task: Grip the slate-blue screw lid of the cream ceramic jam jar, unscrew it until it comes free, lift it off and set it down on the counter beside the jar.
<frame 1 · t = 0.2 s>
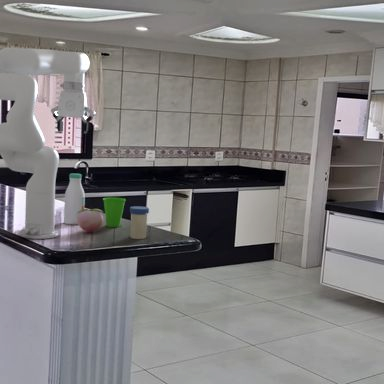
hand: (72, 132, 219), 37 cm above the countertop, tool pointing down, fingers open, 9 cm apart
jar lid: (139, 208, 207), point 11 cm above the countertop, screwed on, not yet turned
milk bottle: (73, 223, 228), on the countertop
decorative fruit: (89, 233, 211), on the countertop
cup: (113, 226, 228), on the countertop
jar: (138, 237, 209), on the countertop
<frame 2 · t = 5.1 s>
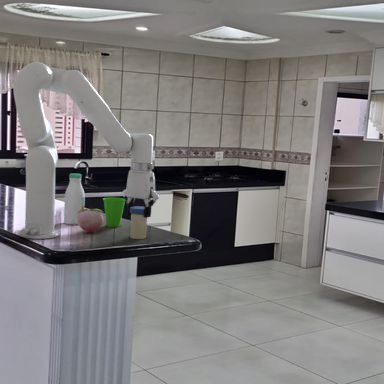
hand: (139, 215, 208), 8 cm above the countertop, tool pointing down, fingers closed on jar lid, 6 cm apart
jar lid: (139, 208, 207), point 11 cm above the countertop, screwed on, not yet turned, touching gripper
everything else where it was.
when the fingers open (7 cm above the countertop, at t = 7.8 s): jar lid stays where it is, point 11 cm above the countertop.
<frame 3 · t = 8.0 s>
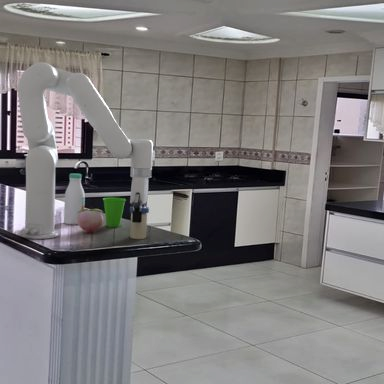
hand: (138, 220, 208), 6 cm above the countertop, tool pointing down, fingers open, 8 cm apart
jar lid: (139, 208, 207), point 11 cm above the countertop, turned 117° so far, risen 0.2 cm, still on its thread
everything else where it was.
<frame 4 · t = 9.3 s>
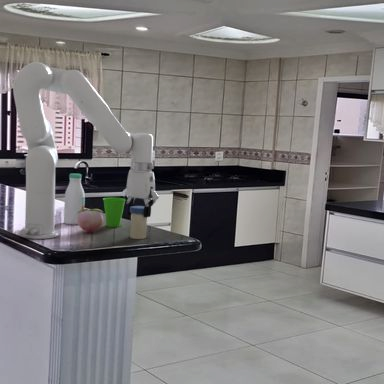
hand: (139, 215, 208), 8 cm above the countertop, tool pointing down, fingers closed on jar lid, 6 cm apart
jar lid: (139, 208, 207), point 11 cm above the countertop, turned 117° so far, risen 0.2 cm, still on its thread, touching gripper
everything else where it was.
when the fingers open (7 cm above the countertop, at t = 11.7 s): jar lid stays where it is, point 11 cm above the countertop.
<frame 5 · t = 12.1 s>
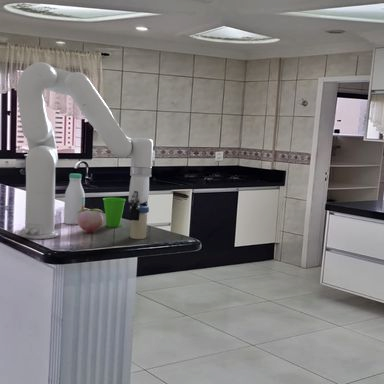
hand: (138, 218, 208), 7 cm above the countertop, tool pointing down, fingers open, 9 cm apart
jar lid: (139, 207, 207), point 11 cm above the countertop, turned 236° so far, risen 0.4 cm, still on its thread
everything else where it was.
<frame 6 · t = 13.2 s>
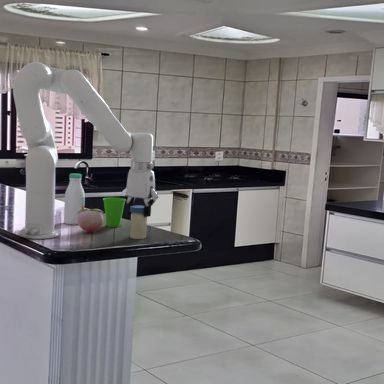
hand: (139, 214, 208), 8 cm above the countertop, tool pointing down, fingers closed on jar lid, 6 cm apart
jar lid: (139, 207, 207), point 11 cm above the countertop, turned 236° so far, risen 0.4 cm, still on its thread, touching gripper
everything else where it was.
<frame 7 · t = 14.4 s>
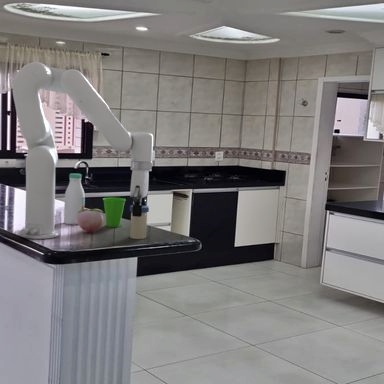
hand: (139, 214, 208), 9 cm above the countertop, tool pointing down, fingers closed on jar lid, 6 cm apart
jar lid: (139, 207, 207), point 11 cm above the countertop, off its thread, touching gripper
everything else where it was.
when the fingers open (0 cm above the countertop, at t = 23.6 s): jar lid drops 1 cm, point 1 cm above the countertop.
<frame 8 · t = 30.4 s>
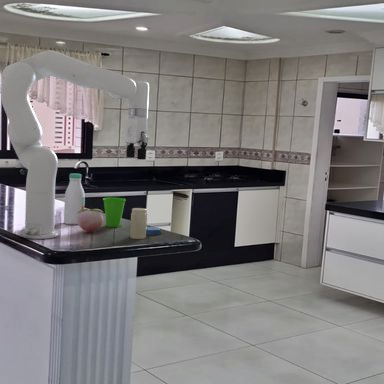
hand: (135, 158, 218), 28 cm above the countertop, tool pointing down, fingers open, 9 cm apart
jar lid: (151, 229, 218), point 1 cm above the countertop, off its thread
everything else where it was.
at the end: jar lid came off its thread; jar lid point 1.5 cm above the countertop; the gripper is holding nothing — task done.
